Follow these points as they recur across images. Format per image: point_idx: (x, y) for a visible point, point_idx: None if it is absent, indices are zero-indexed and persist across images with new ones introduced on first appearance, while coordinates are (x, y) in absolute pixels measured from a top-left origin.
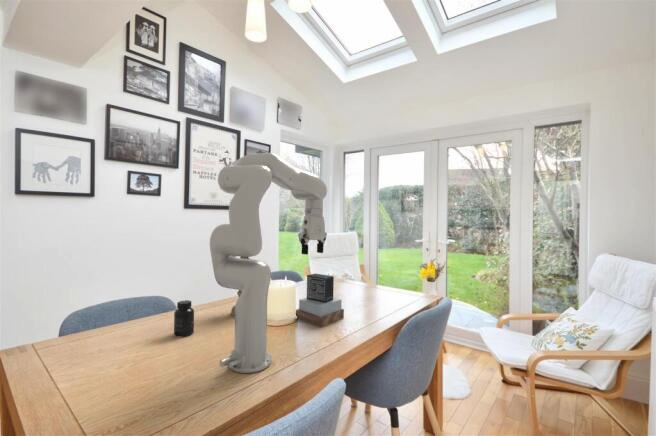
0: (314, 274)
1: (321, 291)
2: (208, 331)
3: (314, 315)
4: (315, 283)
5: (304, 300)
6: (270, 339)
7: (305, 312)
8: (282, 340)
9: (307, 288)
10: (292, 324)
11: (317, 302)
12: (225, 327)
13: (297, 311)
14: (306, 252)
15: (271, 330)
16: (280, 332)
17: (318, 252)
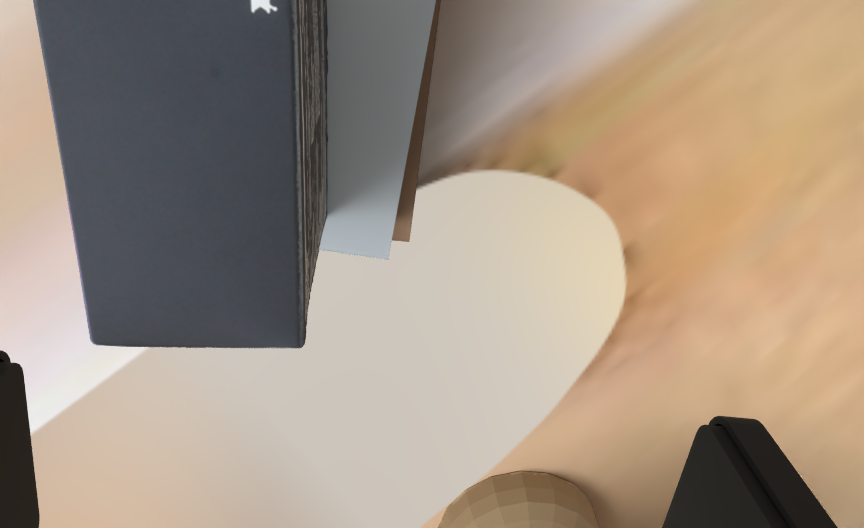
0: (186, 291)
1: (317, 31)
2: (850, 462)
3: (437, 11)
4: (310, 158)
5: (385, 199)
6: (828, 100)
7: (414, 131)
8: (814, 18)
9: (317, 252)
10: (520, 154)
11: (362, 44)
12: None
13: (411, 216)
14: (769, 469)
15: (690, 200)
16: (695, 125)
17: (24, 484)
